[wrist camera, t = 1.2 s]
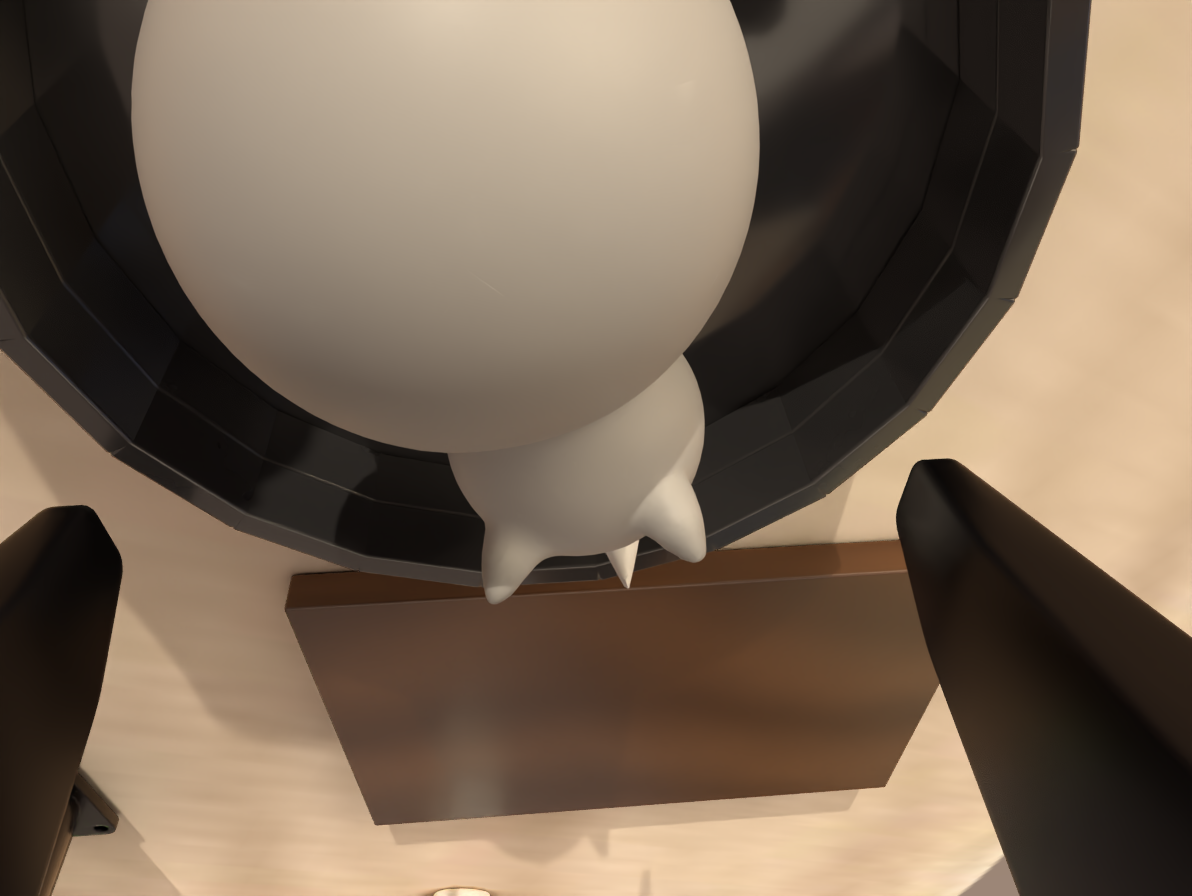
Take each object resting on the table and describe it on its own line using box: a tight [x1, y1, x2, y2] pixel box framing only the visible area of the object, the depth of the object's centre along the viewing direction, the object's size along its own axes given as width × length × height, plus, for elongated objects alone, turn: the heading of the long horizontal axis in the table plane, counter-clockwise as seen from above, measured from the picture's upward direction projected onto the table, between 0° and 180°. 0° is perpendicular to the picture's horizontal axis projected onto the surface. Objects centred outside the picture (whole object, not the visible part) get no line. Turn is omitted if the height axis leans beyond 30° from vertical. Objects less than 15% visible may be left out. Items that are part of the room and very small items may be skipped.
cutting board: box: [285, 540, 940, 825], centre depth 29 cm, size 14×20×1 cm
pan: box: [0, 0, 1092, 587], centre depth 15 cm, size 17×17×4 cm
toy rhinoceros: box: [131, 0, 760, 604], centre depth 13 cm, size 7×12×8 cm, turn 14°
